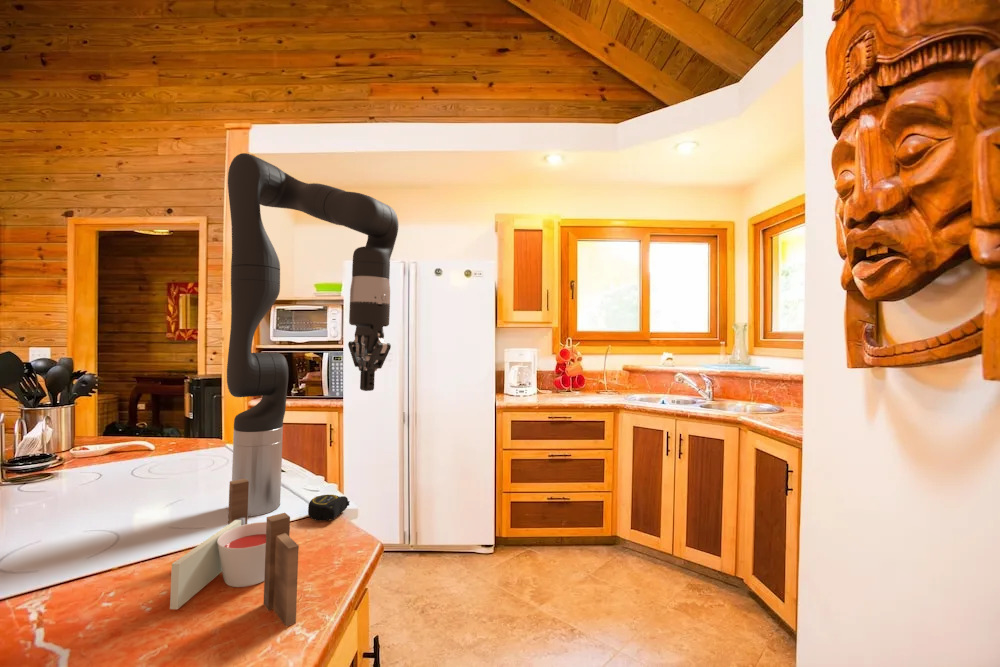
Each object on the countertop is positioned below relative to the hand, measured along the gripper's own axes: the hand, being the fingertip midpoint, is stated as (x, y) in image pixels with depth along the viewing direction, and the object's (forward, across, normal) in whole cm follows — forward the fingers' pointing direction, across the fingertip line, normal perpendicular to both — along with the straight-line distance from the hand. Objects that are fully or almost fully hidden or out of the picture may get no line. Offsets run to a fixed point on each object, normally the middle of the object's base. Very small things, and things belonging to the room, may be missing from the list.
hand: (367, 390), depth 84 cm
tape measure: (+27, -10, -2) cm, 29 cm away
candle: (+27, +4, -20) cm, 34 cm away
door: (+27, +1, -25) cm, 37 cm away
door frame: (+27, +6, -20) cm, 34 cm away
